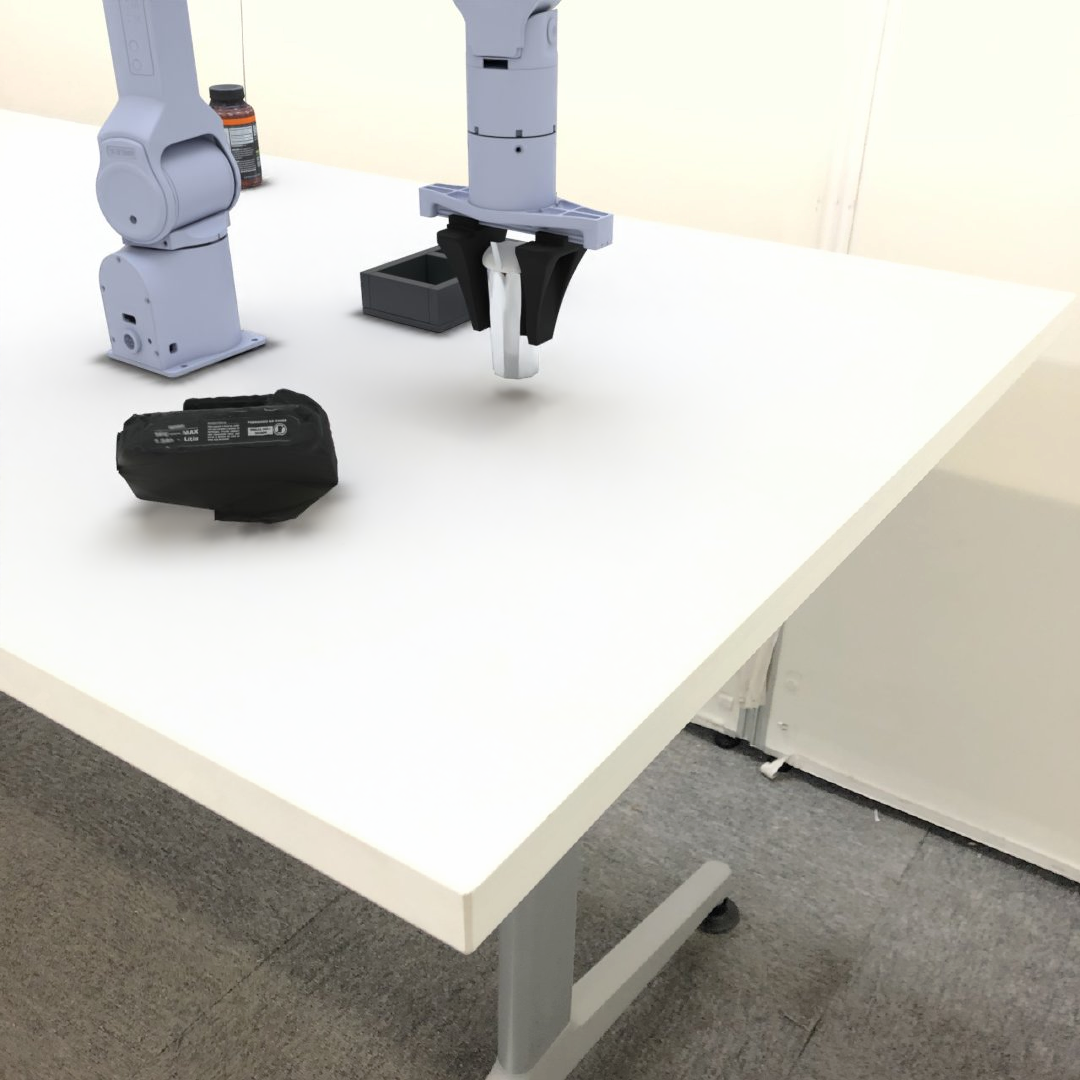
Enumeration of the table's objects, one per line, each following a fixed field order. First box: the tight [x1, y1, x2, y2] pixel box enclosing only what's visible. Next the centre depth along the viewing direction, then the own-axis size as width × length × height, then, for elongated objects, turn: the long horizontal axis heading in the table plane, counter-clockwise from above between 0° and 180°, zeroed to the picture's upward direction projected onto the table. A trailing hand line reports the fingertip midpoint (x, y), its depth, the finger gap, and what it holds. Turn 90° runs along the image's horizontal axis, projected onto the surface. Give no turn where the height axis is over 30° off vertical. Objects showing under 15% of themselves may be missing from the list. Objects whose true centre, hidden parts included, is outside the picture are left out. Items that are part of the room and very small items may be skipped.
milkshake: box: [482, 241, 542, 380], centre depth 77 cm, size 4×5×10 cm
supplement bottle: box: [208, 83, 263, 189], centre depth 135 cm, size 6×6×11 cm
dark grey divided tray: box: [359, 237, 527, 333], centre depth 99 cm, size 8×16×4 cm, turn 145°
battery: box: [115, 387, 339, 525], centre depth 64 cm, size 12×8×7 cm
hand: (512, 334), depth 78 cm, fingers closed on milkshake, 4 cm apart
